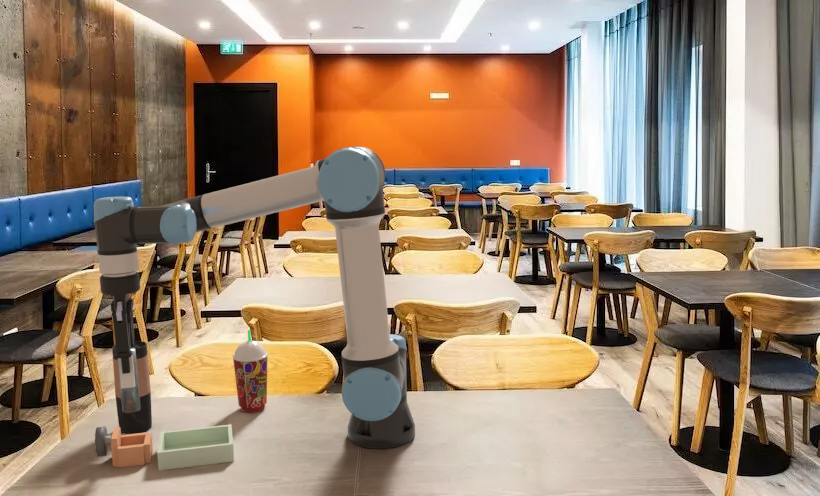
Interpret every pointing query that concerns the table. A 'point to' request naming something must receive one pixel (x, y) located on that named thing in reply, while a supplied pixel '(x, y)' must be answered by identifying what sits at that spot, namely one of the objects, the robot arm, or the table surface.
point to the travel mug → (143, 417)
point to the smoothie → (251, 375)
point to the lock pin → (131, 391)
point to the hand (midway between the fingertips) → (129, 383)
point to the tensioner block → (124, 447)
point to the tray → (195, 447)
